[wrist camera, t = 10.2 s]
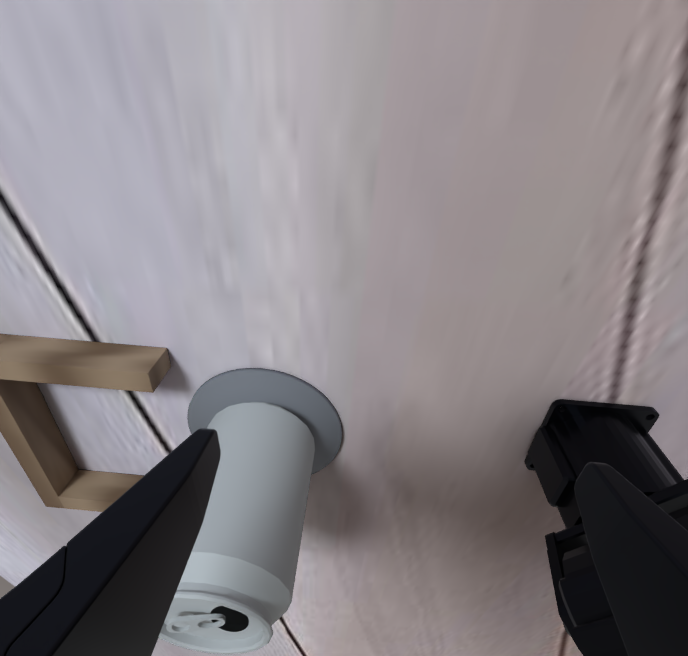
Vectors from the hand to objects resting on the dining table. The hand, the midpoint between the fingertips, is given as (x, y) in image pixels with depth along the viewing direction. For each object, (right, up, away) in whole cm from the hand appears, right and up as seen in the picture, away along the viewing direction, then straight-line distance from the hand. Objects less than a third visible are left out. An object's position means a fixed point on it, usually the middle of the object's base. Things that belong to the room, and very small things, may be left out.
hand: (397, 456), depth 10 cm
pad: (-7, -4, +19) cm, 20 cm away
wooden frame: (-18, -4, +19) cm, 27 cm away
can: (-7, -4, +19) cm, 20 cm away
